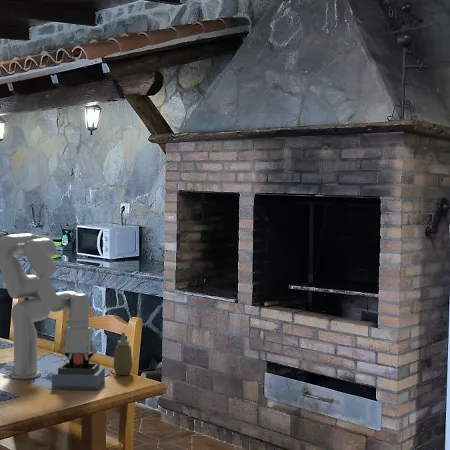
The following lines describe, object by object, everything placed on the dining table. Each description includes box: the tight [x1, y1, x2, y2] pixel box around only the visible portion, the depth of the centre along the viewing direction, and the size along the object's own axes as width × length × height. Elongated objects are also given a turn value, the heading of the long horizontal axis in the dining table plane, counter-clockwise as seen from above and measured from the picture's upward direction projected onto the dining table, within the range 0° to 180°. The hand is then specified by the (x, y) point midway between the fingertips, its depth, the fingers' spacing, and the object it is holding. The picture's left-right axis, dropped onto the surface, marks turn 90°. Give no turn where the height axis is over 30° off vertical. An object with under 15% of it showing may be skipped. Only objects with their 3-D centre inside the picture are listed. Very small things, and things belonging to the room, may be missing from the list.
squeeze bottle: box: [113, 331, 133, 376], centre depth 302 cm, size 8×8×18 cm
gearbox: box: [51, 361, 106, 392], centre depth 284 cm, size 18×13×8 cm
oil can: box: [73, 353, 85, 369], centre depth 283 cm, size 5×5×13 cm
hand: (79, 368), depth 284 cm, fingers closed on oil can, 5 cm apart
